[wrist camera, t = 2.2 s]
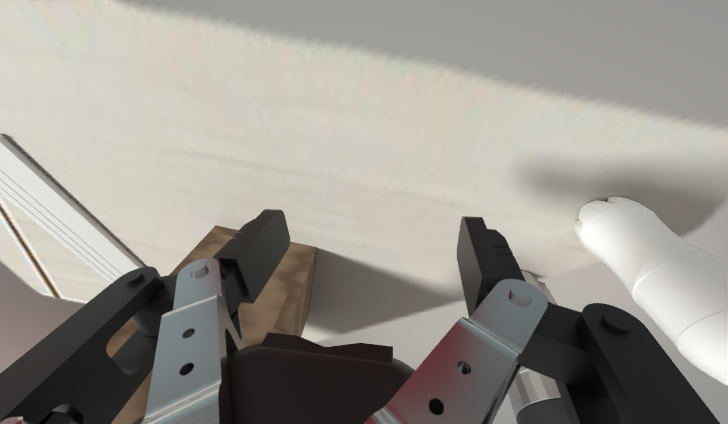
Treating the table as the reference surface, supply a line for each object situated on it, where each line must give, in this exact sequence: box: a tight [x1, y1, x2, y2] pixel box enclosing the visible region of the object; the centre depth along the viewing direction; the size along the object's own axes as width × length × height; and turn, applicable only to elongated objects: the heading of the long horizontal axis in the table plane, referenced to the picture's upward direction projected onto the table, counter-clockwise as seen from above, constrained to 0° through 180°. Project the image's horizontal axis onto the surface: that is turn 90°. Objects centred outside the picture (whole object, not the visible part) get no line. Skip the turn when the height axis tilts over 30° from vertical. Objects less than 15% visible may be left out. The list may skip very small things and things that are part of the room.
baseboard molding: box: [0, 133, 144, 284], centre depth 44 cm, size 31×3×12 cm
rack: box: [106, 226, 317, 424], centre depth 33 cm, size 16×18×32 cm
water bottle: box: [574, 197, 728, 386], centre depth 24 cm, size 7×7×25 cm
